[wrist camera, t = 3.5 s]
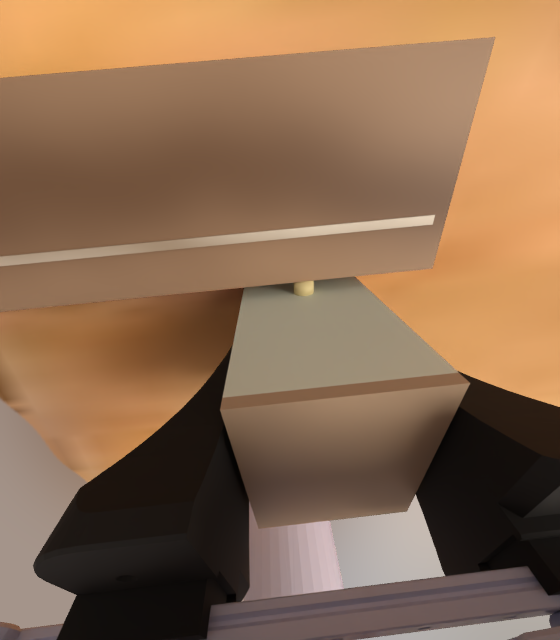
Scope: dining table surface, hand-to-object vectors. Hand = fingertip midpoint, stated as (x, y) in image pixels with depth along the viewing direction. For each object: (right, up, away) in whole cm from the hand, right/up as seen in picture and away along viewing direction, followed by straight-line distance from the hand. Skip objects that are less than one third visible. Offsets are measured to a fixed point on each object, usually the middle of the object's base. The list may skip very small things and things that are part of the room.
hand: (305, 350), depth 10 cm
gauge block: (0, +1, +2) cm, 2 cm away
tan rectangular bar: (-6, +6, -1) cm, 9 cm away
